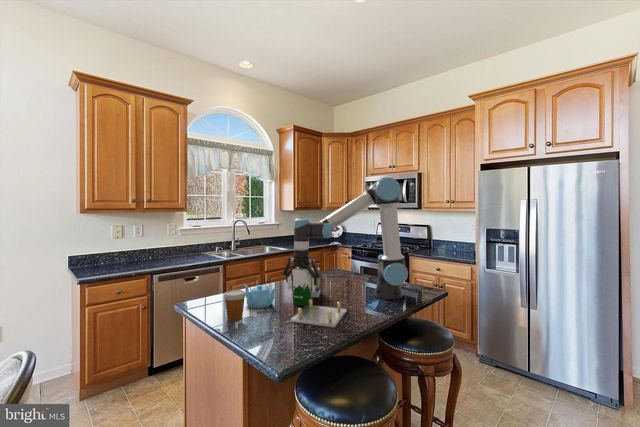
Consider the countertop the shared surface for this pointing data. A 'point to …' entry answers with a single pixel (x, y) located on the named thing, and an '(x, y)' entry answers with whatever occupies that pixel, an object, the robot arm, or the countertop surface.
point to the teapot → (259, 297)
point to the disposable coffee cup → (234, 304)
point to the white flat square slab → (319, 315)
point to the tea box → (317, 287)
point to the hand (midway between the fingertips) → (301, 290)
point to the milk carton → (301, 286)
